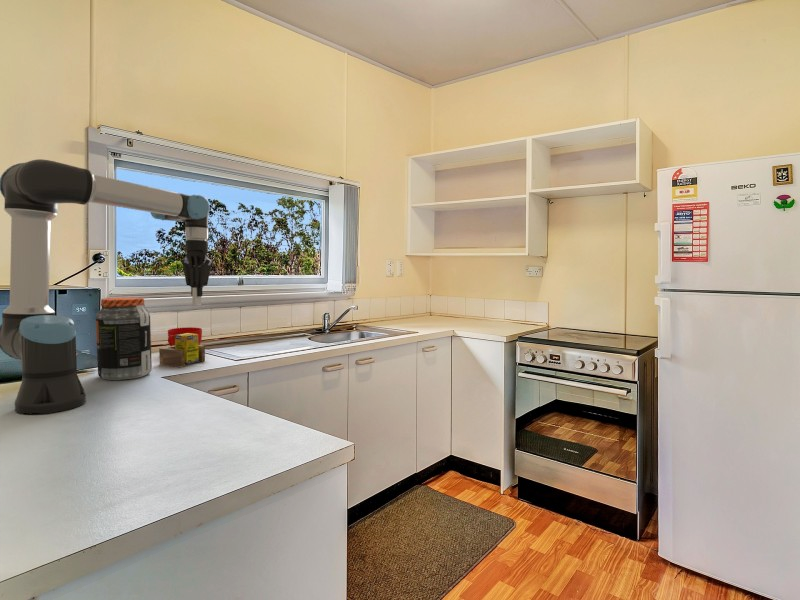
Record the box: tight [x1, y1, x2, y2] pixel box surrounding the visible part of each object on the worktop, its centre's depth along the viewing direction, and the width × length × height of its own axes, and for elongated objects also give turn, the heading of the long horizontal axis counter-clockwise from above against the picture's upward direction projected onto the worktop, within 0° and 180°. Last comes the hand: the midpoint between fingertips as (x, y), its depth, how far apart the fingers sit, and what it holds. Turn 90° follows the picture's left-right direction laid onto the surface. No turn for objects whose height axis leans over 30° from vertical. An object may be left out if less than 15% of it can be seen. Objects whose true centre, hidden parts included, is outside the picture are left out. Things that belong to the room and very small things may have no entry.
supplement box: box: [175, 333, 199, 366], centre depth 182 cm, size 6×6×11 cm
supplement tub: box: [95, 297, 153, 381], centre depth 161 cm, size 16×16×26 cm
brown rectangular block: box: [158, 344, 206, 368], centre depth 183 cm, size 12×10×6 cm
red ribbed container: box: [167, 326, 203, 346], centre depth 199 cm, size 13×17×10 cm
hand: (196, 305), depth 175 cm, fingers closed
